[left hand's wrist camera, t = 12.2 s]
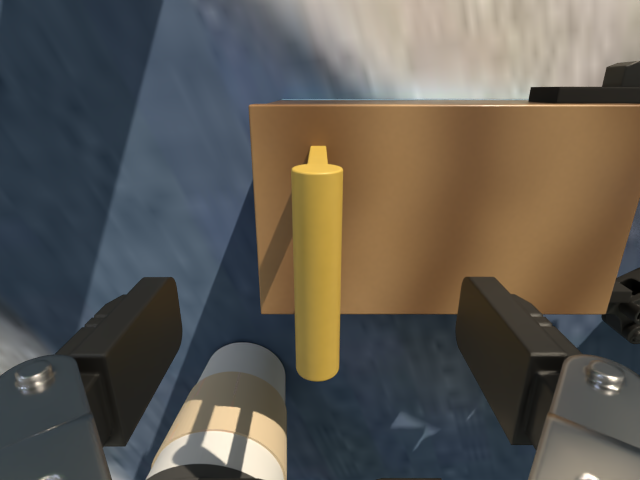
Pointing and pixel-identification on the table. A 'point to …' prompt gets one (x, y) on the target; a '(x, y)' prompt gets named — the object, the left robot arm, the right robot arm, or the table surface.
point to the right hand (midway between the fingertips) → (523, 199)
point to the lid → (436, 209)
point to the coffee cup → (230, 421)
